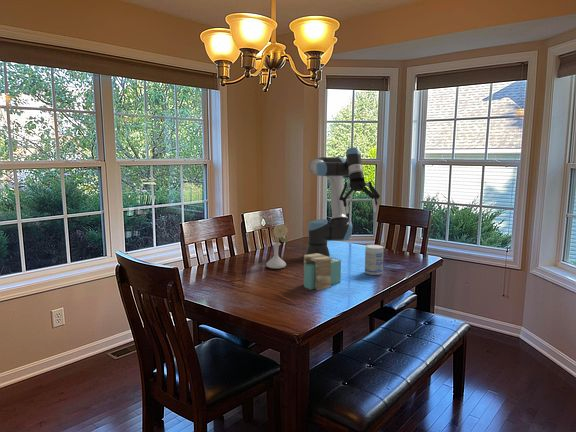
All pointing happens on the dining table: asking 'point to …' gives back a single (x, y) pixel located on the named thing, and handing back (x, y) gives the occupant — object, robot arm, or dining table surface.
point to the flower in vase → (276, 260)
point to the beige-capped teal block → (311, 272)
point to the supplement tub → (374, 259)
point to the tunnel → (320, 269)
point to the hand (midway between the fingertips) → (361, 211)
